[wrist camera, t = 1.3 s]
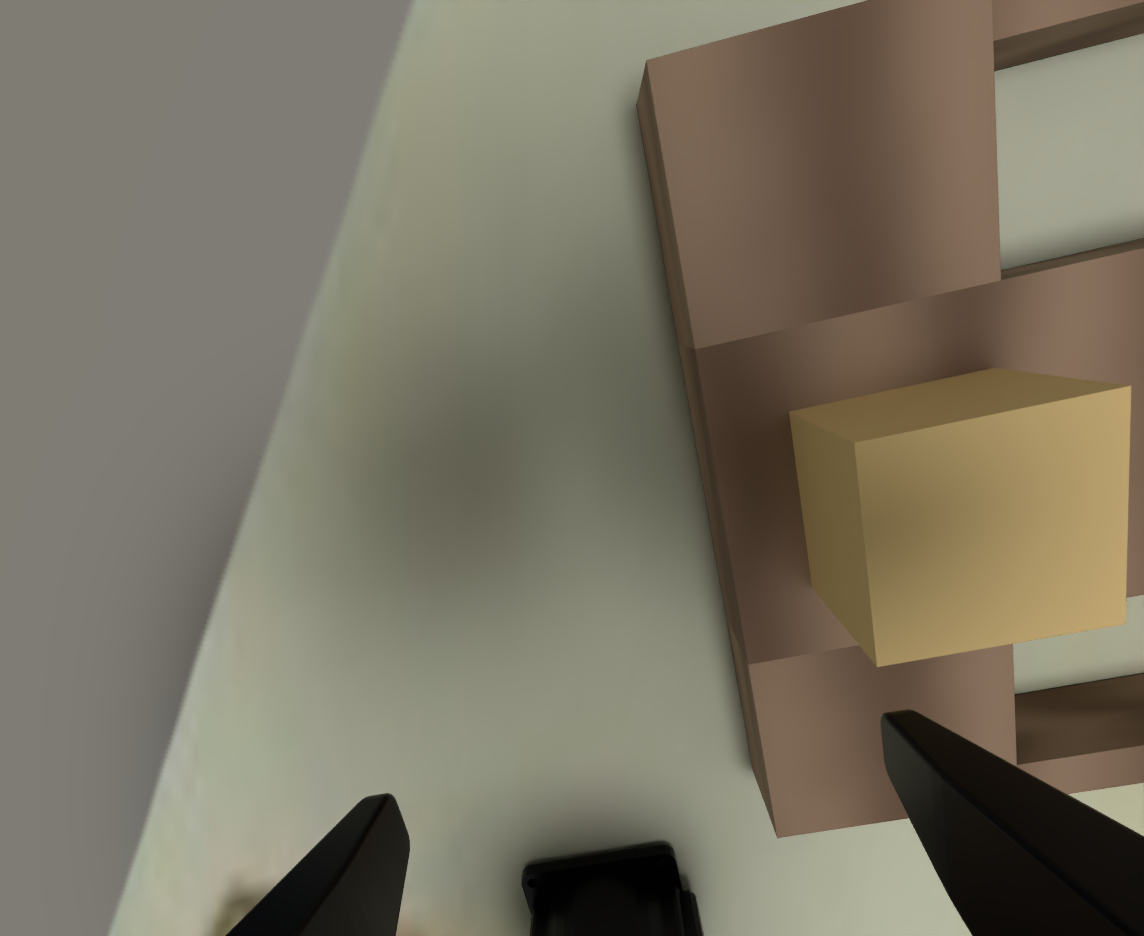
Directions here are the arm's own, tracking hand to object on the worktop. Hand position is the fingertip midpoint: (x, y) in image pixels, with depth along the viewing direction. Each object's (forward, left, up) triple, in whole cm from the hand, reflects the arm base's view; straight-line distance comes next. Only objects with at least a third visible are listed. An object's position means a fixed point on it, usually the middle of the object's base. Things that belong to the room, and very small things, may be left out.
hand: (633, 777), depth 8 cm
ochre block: (+8, 0, -9) cm, 12 cm away
